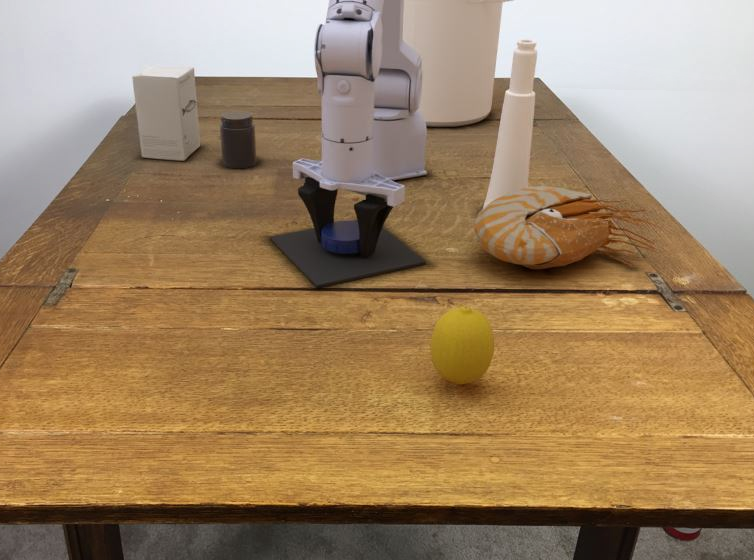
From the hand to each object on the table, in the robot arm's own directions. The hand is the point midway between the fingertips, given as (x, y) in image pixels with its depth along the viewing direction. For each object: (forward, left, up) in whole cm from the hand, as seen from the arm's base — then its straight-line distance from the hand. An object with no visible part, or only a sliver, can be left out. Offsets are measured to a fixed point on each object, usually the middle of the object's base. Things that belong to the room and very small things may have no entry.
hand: (345, 247), depth 94 cm
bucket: (-41, -46, -1) cm, 62 cm away
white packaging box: (+9, -44, -1) cm, 45 cm away
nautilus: (-22, +13, -1) cm, 26 cm away
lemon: (+3, +29, -1) cm, 29 cm away
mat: (0, 0, -1) cm, 1 cm away
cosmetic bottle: (-24, -1, -1) cm, 24 cm away
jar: (+1, -35, -1) cm, 35 cm away
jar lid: (0, 0, +2) cm, 2 cm away
